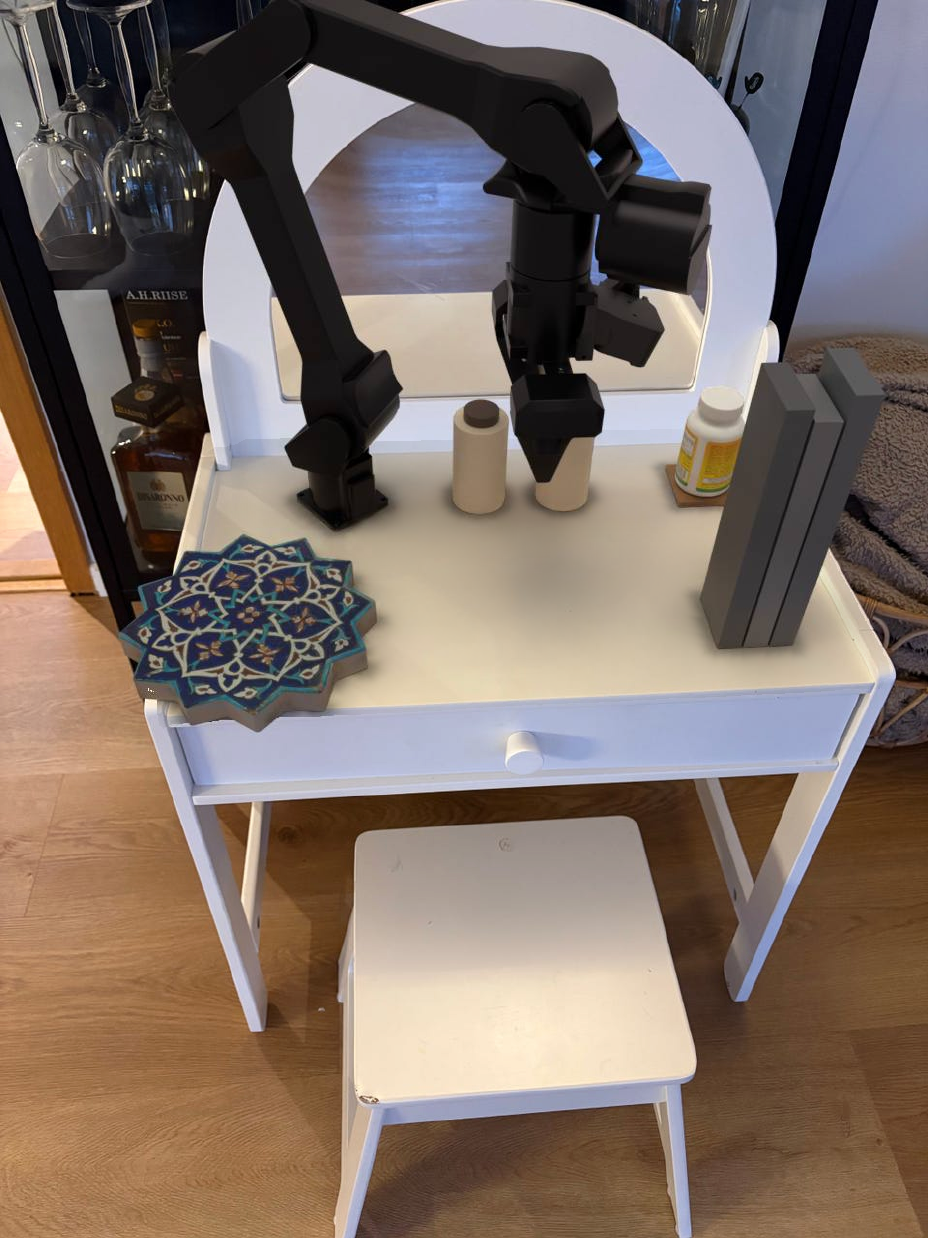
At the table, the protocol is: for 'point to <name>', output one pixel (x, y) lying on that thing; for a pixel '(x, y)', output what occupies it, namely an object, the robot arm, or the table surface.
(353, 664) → the decorative tile
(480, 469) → the cream bottle
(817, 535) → the grey grooved column
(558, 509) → the cream bottle
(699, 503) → the oak coaster
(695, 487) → the supplement bottle
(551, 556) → the table surface
